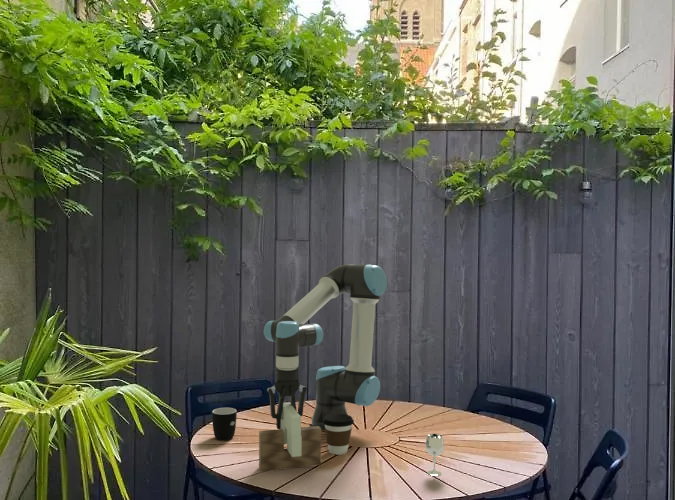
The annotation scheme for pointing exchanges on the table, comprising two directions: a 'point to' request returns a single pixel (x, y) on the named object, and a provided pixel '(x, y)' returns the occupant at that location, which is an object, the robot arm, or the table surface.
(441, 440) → the wineglass
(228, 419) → the mug
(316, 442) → the slotted board
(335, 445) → the coffee cup
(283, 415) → the sage plate
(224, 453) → the table surface
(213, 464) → the table surface
